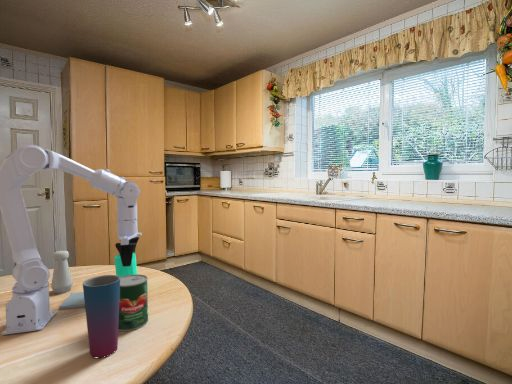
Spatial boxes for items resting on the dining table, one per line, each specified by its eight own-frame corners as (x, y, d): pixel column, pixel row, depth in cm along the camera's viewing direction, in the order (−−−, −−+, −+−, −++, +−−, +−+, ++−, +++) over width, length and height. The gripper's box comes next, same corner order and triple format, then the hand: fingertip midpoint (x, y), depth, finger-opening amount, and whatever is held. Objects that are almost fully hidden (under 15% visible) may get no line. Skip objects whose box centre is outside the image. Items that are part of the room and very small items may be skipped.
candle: (134, 290, 87) (130, 252, 86) (114, 292, 86) (110, 253, 85) (141, 283, 93) (137, 246, 92) (122, 284, 92) (119, 248, 91)
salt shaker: (77, 288, 95) (75, 249, 94) (64, 295, 89) (62, 253, 88) (60, 287, 95) (59, 249, 95) (46, 294, 89) (45, 253, 89)
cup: (127, 341, 63) (125, 274, 62) (113, 360, 56) (110, 286, 56) (96, 342, 63) (94, 275, 62) (77, 361, 56) (75, 286, 55)
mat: (99, 304, 82) (99, 302, 82) (59, 309, 79) (59, 306, 79) (107, 291, 91) (107, 289, 91) (71, 295, 88) (71, 293, 88)
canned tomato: (126, 334, 66) (125, 287, 65) (107, 325, 70) (105, 281, 69) (155, 320, 73) (154, 277, 72) (135, 312, 77) (134, 272, 76)
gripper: (138, 222, 83) (139, 268, 83) (143, 216, 97) (144, 256, 97) (112, 223, 81) (113, 271, 81) (120, 217, 95) (121, 257, 95)
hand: (128, 263), depth 89 cm, fingers closed on candle, 6 cm apart
